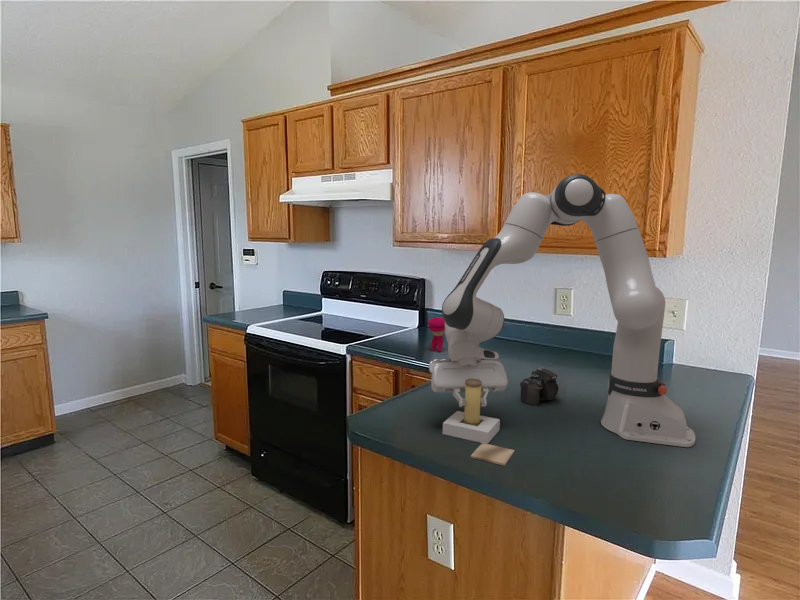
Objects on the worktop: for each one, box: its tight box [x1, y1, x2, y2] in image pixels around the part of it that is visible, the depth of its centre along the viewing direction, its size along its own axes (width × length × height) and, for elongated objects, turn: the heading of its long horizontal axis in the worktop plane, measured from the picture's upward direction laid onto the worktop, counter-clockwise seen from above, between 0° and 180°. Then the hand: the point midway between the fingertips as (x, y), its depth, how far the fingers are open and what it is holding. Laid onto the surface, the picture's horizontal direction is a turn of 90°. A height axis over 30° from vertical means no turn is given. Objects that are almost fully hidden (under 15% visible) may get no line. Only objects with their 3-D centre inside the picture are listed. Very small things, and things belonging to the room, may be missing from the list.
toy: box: [427, 316, 445, 353], centre depth 213 cm, size 8×8×15 cm
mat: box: [470, 443, 515, 467], centre depth 114 cm, size 8×8×1 cm
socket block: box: [442, 410, 501, 444], centre depth 127 cm, size 12×10×3 cm
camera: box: [519, 366, 559, 406], centre depth 153 cm, size 13×10×10 cm
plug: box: [463, 379, 482, 426], centre depth 126 cm, size 4×4×14 cm
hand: (473, 405), depth 126 cm, fingers closed on plug, 4 cm apart
